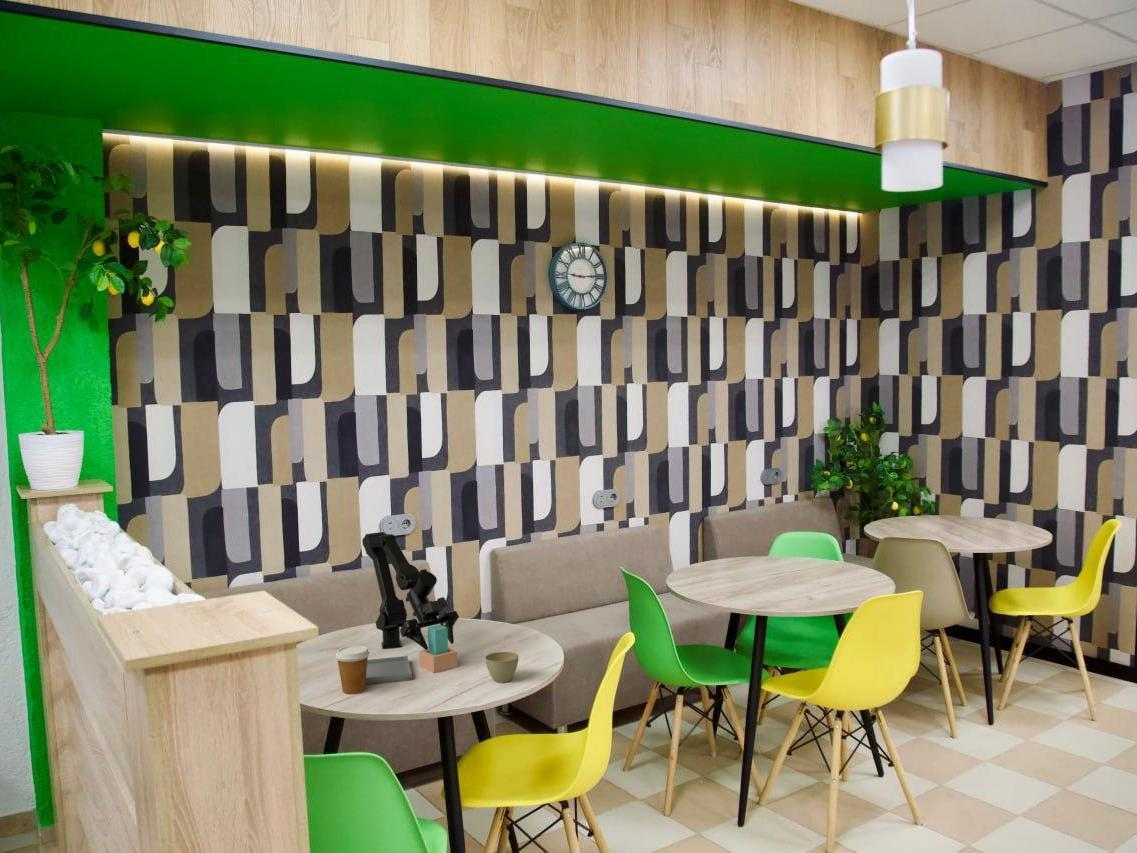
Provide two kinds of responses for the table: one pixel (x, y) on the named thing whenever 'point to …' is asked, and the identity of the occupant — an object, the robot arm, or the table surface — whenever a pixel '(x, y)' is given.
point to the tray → (388, 670)
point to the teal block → (437, 640)
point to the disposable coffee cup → (353, 668)
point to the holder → (438, 661)
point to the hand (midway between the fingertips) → (440, 646)
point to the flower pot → (502, 665)
